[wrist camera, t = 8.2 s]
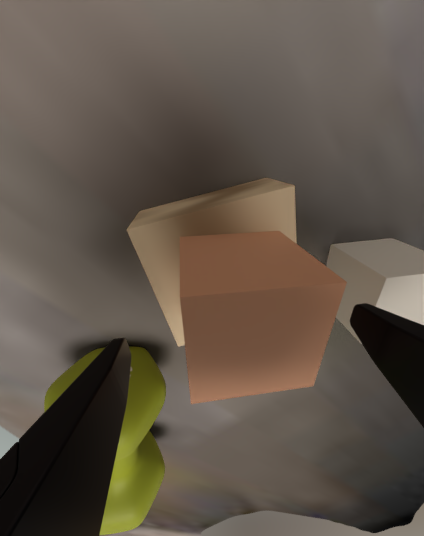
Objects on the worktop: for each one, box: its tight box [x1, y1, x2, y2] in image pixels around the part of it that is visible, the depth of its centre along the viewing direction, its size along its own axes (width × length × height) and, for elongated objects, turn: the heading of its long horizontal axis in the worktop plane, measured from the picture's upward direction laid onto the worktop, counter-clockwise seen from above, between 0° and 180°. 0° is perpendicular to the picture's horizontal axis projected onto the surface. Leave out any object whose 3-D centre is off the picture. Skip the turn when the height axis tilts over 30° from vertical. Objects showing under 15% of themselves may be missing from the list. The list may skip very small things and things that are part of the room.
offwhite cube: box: [326, 238, 424, 343], centre depth 15 cm, size 5×5×5 cm
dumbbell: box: [44, 346, 166, 535], centre depth 18 cm, size 16×8×7 cm, turn 173°
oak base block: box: [127, 178, 297, 347], centre depth 14 cm, size 8×8×4 cm
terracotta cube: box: [180, 231, 347, 404], centre depth 10 cm, size 5×5×5 cm
